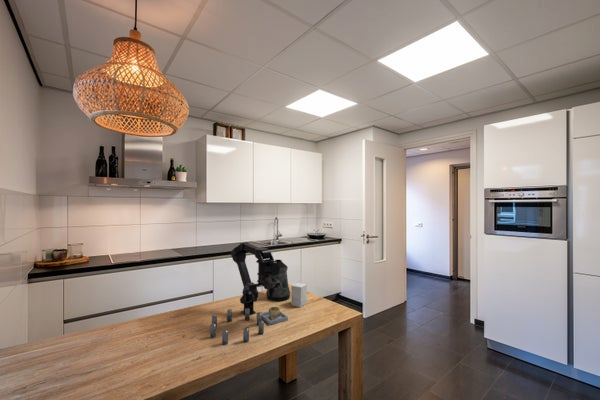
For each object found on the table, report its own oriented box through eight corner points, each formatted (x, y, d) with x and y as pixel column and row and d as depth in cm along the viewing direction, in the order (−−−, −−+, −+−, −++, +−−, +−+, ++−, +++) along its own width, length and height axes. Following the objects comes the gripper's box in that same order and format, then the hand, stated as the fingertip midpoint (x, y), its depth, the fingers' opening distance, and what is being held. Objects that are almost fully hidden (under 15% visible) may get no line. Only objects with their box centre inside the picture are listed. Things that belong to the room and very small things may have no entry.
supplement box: (306, 304, 170) (307, 284, 170) (300, 307, 164) (301, 287, 164) (297, 301, 174) (297, 282, 174) (290, 305, 168) (291, 285, 168)
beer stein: (282, 303, 170) (282, 264, 170) (257, 298, 179) (258, 261, 179) (294, 295, 184) (295, 259, 184) (271, 290, 194) (272, 256, 194)
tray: (260, 317, 150) (260, 313, 150) (278, 313, 156) (278, 309, 156) (269, 325, 140) (269, 321, 140) (287, 320, 147) (287, 316, 147)
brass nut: (267, 316, 149) (267, 307, 149) (275, 314, 152) (275, 306, 152) (272, 321, 144) (272, 311, 144) (280, 318, 147) (280, 309, 147)
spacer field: (203, 326, 138) (203, 314, 138) (251, 314, 153) (251, 304, 153) (218, 350, 116) (218, 337, 116) (272, 334, 131) (272, 322, 131)
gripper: (253, 277, 135) (253, 308, 135) (285, 272, 145) (285, 301, 145) (245, 272, 144) (244, 301, 144) (275, 268, 154) (275, 295, 154)
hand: (263, 300), depth 147 cm, fingers open, 9 cm apart
